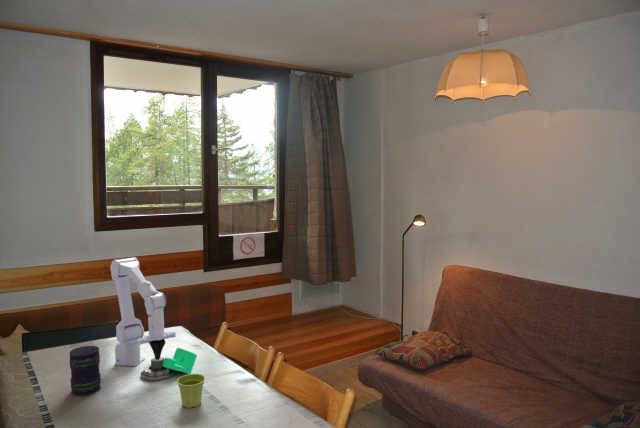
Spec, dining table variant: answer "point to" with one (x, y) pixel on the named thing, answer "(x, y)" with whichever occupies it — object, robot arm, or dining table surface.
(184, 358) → the camera mount
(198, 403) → the plant pot
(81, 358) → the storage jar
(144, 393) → the dining table surface
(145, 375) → the grey knurled ring
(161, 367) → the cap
